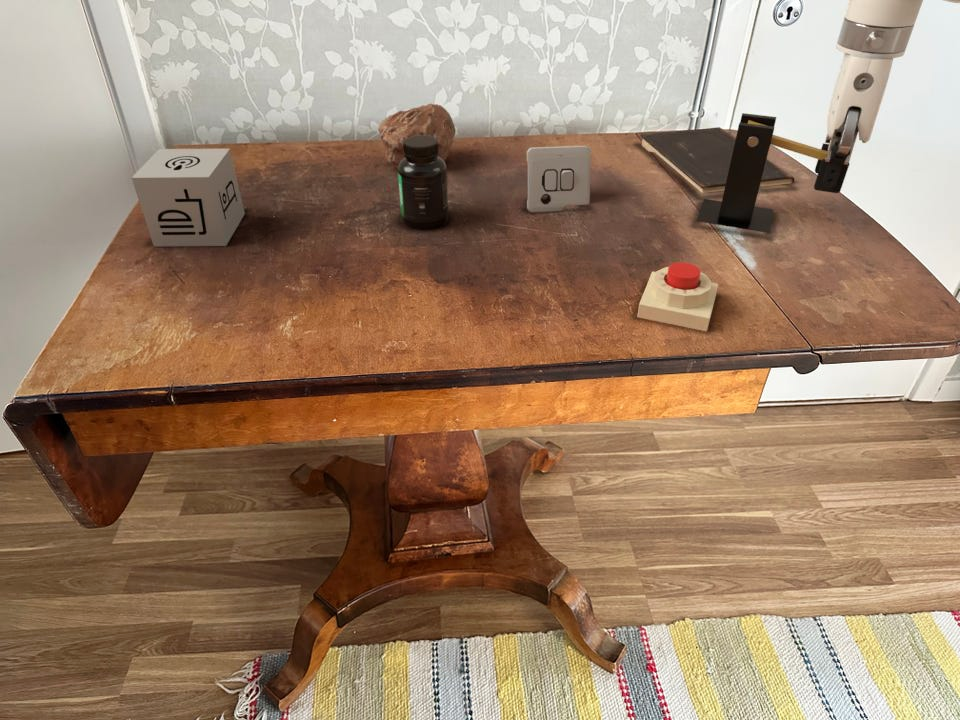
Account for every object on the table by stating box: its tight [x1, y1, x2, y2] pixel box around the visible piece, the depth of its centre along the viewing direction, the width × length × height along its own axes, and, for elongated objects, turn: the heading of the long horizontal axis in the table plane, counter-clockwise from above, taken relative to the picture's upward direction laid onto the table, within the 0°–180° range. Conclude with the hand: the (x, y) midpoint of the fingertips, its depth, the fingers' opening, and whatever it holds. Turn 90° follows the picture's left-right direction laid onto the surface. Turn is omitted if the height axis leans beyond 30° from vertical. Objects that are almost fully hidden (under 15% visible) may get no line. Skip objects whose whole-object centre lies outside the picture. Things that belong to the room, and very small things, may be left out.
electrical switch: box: [526, 145, 592, 213], centre depth 104 cm, size 9×5×9 cm, turn 95°
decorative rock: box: [377, 103, 457, 170], centre depth 117 cm, size 13×11×10 cm
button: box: [666, 262, 701, 290], centre depth 81 cm, size 4×4×2 cm
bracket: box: [696, 112, 777, 234], centre depth 98 cm, size 10×8×15 cm
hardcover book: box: [639, 126, 795, 194], centre depth 118 cm, size 16×23×2 cm
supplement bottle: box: [397, 135, 449, 231], centre depth 99 cm, size 7×7×12 cm
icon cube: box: [131, 148, 246, 248], centre depth 98 cm, size 10×10×10 cm
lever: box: [747, 120, 827, 160], centre depth 93 cm, size 13×5×2 cm, turn 68°
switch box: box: [636, 266, 719, 332], centre depth 83 cm, size 8×8×4 cm
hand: (826, 180), depth 94 cm, fingers closed on lever, 5 cm apart
